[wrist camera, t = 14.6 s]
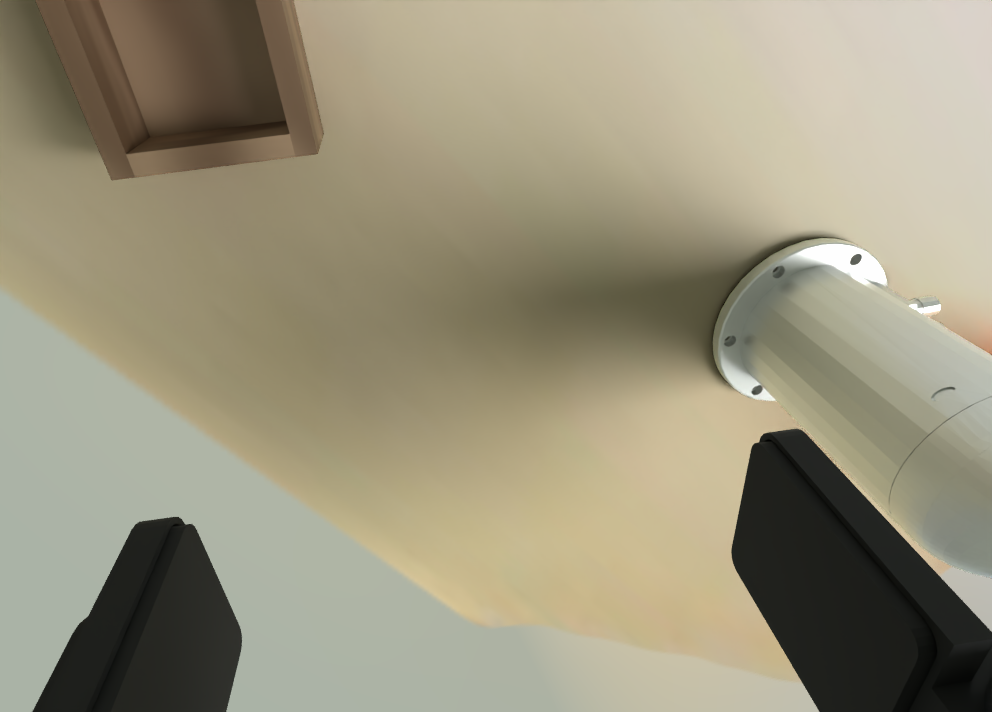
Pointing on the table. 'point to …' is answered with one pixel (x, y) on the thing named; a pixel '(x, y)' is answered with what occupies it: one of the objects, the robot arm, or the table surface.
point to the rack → (187, 81)
